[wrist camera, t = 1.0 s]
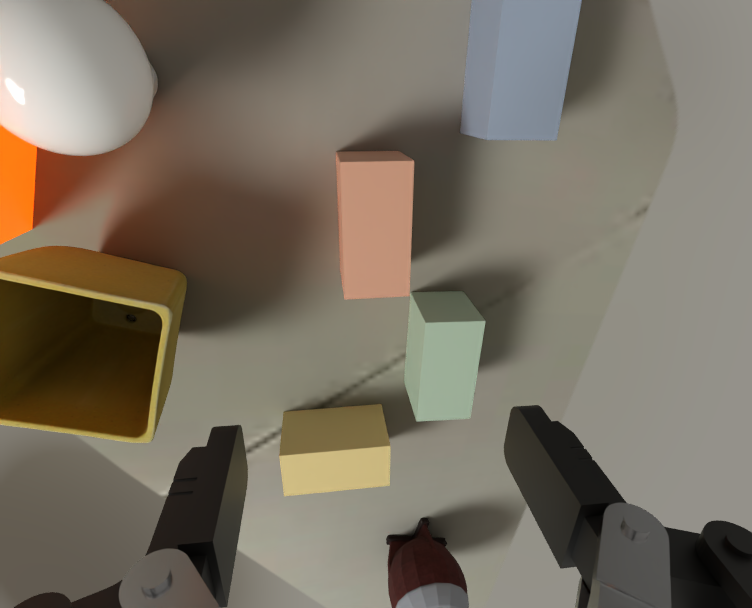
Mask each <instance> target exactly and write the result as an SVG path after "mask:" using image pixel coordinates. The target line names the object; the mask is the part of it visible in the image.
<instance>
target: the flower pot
mask: <svg viewBox="0 0 752 608" xmlns="http://www.w3.org/2000/svg"><path fill="white" fill-rule="evenodd" d="M186 288H187V280H186V277H185V275H184V274H183V273H181V272H179V271H177V270H174V269H170V268H165V267H161V266H156V265H152V264H147V263H143V262H139V261H134V260H130V259H126V258H122V257H117V256H113V255H109V254H104V253H100V252H96V251H92V250H88V249H82V248H77V247H68V246H48V247H41V248H35V249H31V250H27V251H24V252H20V253H16V254H13V255H9V256H5V257H2V258H0V425H6V426H14V427H24V428H32V429H39V430H46V431H54V432H62V433H69V434H76V435H83V436H90V437H96V438H103V439H110V440H116V441H125V442H132V443H147V442H151V441H152V440H153V438H154V435H155V432H156V428H157V425H158V422H159V419H160V416H161V413H162V410H163V407H164V404H165V401H166V397H167V394H168V391H169V388H170V384H171V380H172V374H173V367H174V359H175V352H176V345H177V339H178V333H179V327H180V321H181V315H182V309H183V304H184V299H185V293H186ZM129 314H131V315H134V316H135V317H136V320H135V321H130V320H128V318H127V316H128V315H129Z"/></svg>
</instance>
